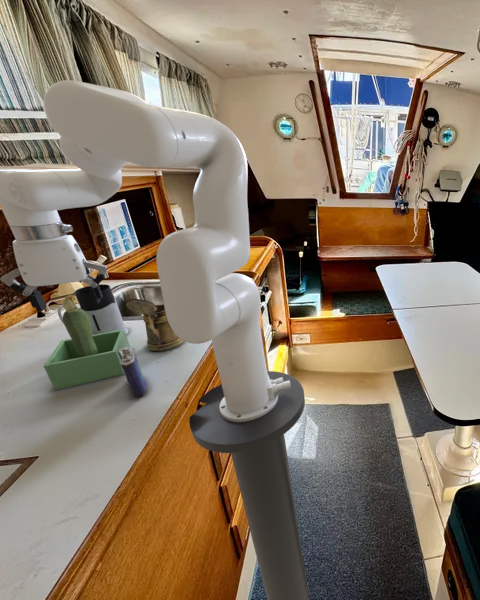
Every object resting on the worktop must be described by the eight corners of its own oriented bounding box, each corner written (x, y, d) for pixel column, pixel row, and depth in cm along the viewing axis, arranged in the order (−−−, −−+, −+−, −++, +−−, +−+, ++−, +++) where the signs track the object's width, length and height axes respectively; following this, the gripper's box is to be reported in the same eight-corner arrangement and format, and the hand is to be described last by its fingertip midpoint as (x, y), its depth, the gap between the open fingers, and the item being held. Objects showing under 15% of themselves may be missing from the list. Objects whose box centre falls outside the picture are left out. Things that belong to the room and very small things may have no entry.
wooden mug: (133, 362, 85) (111, 300, 77) (155, 337, 97) (138, 281, 89) (171, 358, 87) (153, 297, 80) (189, 334, 99) (174, 279, 92)
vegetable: (79, 369, 80) (47, 295, 72) (99, 360, 84) (70, 289, 76) (92, 372, 79) (60, 298, 71) (111, 363, 83) (83, 291, 75)
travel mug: (135, 329, 100) (120, 284, 94) (89, 354, 88) (68, 304, 81) (111, 326, 101) (94, 282, 95) (61, 351, 89) (38, 301, 82)
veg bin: (131, 349, 90) (124, 329, 87) (124, 374, 80) (115, 351, 78) (71, 362, 84) (61, 340, 81) (55, 390, 74) (43, 366, 72)
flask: (128, 380, 78) (114, 342, 74) (143, 375, 80) (130, 338, 76) (134, 400, 72) (118, 360, 68) (150, 394, 74) (136, 354, 70)
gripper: (97, 226, 75) (120, 293, 82) (-12, 232, 67) (25, 306, 74) (89, 232, 69) (115, 304, 76) (-31, 239, 61) (10, 319, 68)
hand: (71, 305), depth 75 cm, fingers open, 9 cm apart
